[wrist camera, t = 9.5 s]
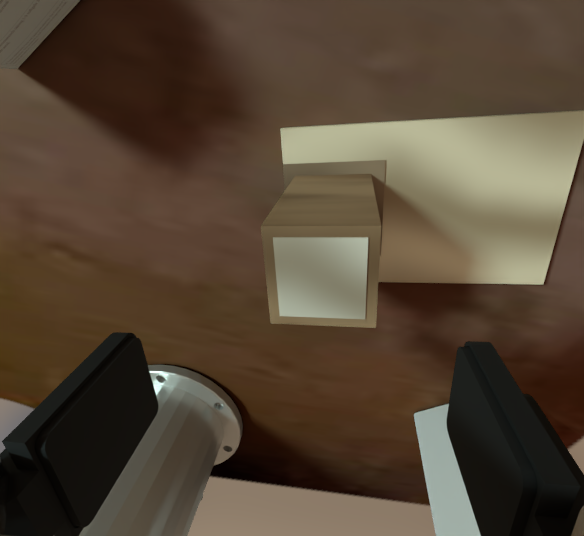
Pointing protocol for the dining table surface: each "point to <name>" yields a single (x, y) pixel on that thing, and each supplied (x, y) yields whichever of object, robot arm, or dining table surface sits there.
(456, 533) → the milk carton
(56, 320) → the dining table surface
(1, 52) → the supplement box
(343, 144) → the board
